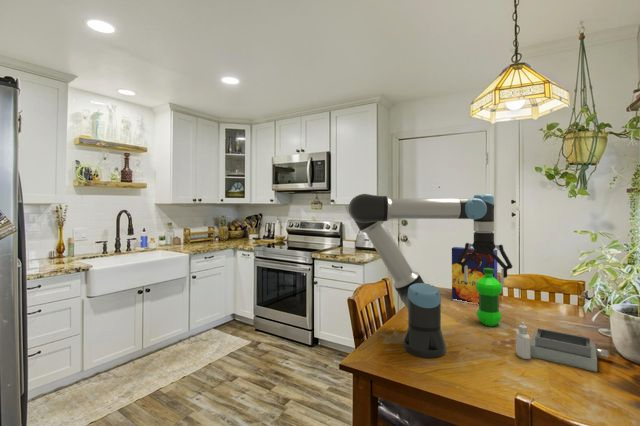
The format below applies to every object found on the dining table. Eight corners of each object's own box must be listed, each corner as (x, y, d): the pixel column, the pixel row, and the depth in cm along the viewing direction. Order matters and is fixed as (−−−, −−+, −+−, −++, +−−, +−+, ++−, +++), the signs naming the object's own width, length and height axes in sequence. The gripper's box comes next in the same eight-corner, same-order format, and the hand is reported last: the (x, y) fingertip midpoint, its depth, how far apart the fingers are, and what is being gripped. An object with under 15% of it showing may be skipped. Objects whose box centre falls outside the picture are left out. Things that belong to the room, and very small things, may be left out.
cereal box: (452, 300, 182) (451, 247, 182) (455, 298, 187) (455, 246, 186) (494, 308, 167) (494, 250, 167) (497, 305, 172) (497, 249, 171)
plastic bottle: (473, 324, 145) (472, 269, 145) (481, 318, 153) (480, 265, 152) (497, 330, 138) (497, 272, 138) (504, 323, 146) (504, 268, 145)
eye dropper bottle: (515, 357, 113) (515, 323, 113) (516, 351, 118) (515, 319, 118) (530, 360, 111) (530, 326, 111) (530, 354, 115) (530, 321, 115)
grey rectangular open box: (611, 375, 100) (611, 353, 100) (530, 356, 114) (529, 336, 114) (607, 356, 113) (607, 336, 113) (534, 341, 126) (534, 323, 126)
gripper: (519, 232, 128) (519, 285, 128) (453, 230, 142) (453, 278, 143) (518, 233, 122) (518, 289, 122) (449, 231, 136) (449, 281, 136)
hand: (483, 283), depth 132 cm, fingers open, 13 cm apart
